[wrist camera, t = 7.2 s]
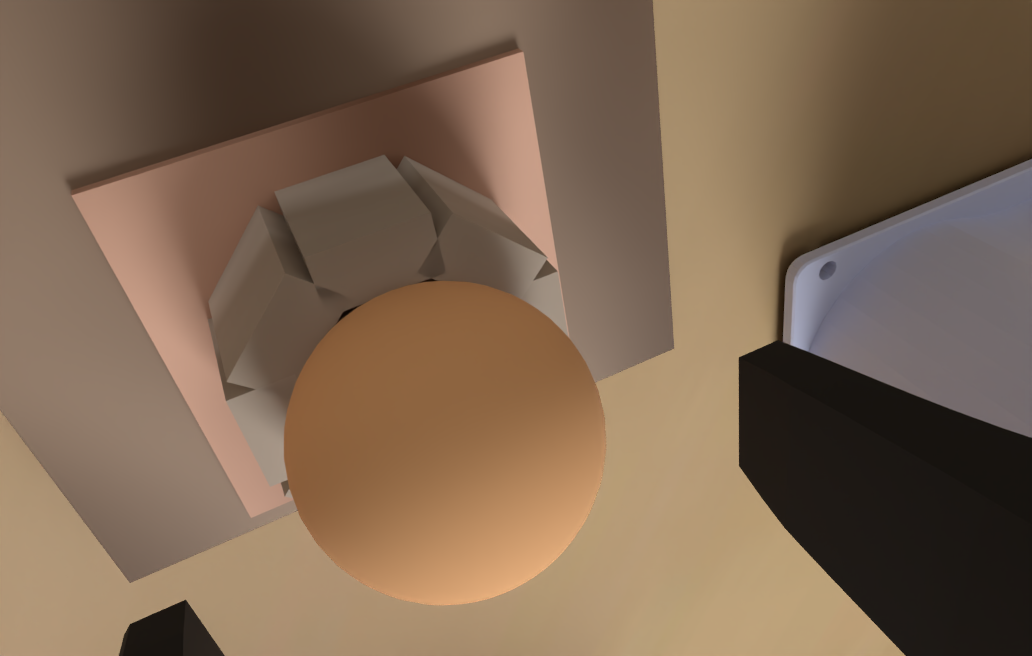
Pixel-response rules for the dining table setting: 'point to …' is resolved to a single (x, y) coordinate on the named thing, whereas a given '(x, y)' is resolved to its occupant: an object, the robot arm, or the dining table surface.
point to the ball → (444, 442)
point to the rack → (295, 220)
